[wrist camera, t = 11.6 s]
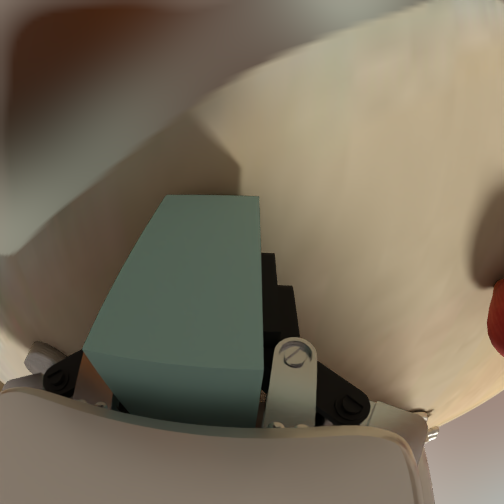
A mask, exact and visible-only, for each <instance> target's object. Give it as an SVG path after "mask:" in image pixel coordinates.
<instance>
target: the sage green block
mask: <svg viewBox="0 0 504 504" xmlns="http://www.w3.org/2000/svg"><path fill="white" fill-rule="evenodd" d="M82 350H83V352H84V353H85V355H86V356H87V358H88V359H89V361H90V362H91V364H92V365H93V366H94V368H95V369H96V371H97V372H98V374H99V375H100V376H101V378H102V379H103V380H104V382H105V383H106V384H107V386H108V387H109V388H110V390H111V391H112V392H113V394H114V395H115V396H116V397H117V399H118V400H119V401H120V402H121V404H122V405H123V406H124V407H125V408H126V410H127V411H128V412H129V413H130V414H132V415H137V416H142V417H147V418H153V419H158V420H165V421H171V422H179V423H187V424H196V425H206V426H218V427H235V428H255V426H256V420H257V413H258V406H259V400H260V393H261V386H262V379H263V371H264V358H263V313H262V274H261V239H260V207H259V196H233V195H166V196H165V198H164V199H163V201H162V202H161V204H160V205H159V207H158V208H157V210H156V212H155V213H154V215H153V216H152V218H151V220H150V221H149V223H148V224H147V226H146V228H145V229H144V231H143V233H142V234H141V236H140V238H139V239H138V241H137V243H136V244H135V246H134V248H133V249H132V251H131V253H130V255H129V256H128V258H127V260H126V262H125V264H124V265H123V267H122V269H121V271H120V273H119V274H118V276H117V278H116V280H115V282H114V284H113V286H112V288H111V290H110V291H109V293H108V295H107V297H106V299H105V301H104V303H103V305H102V307H101V309H100V311H99V313H98V315H97V318H96V320H95V322H94V324H93V326H92V328H91V330H90V332H89V335H88V337H87V339H86V341H85V344H84V346H83V348H82Z"/></svg>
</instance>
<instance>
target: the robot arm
mask: <svg viewBox="0 0 504 504" xmlns="http://www.w3.org/2000/svg"><path fill="white" fill-rule="evenodd" d="M261 274H262V313H263V358H264V371H263V379H262V386H261V389H262V390H263V391H264V392H265V393H266V400H265V407H264V413H263V419H262V426H261V428H235V427H218V426H206V425H196V424H187V423H179V422H171V421H165V420H158V419H153V418H147V417H142V416H137V415H132V414H130V413H129V412H128V411H127V410H126V408H125V407H124V406H123V405H122V404H121V402H120V401H119V400H118V399H117V397H116V396H115V395H114V394H113V392H112V391H111V390H110V388H109V387H108V386H107V384H106V383H105V382H104V380H103V379H102V378H101V376H100V375H99V374H98V372H97V371H96V369H95V368H94V366H93V365H92V364H91V362H90V361H89V359H88V358H87V356H86V355H85V353H84V352H83V350H80V351H78V352H76V353H74V354H72V355H71V356H69V357H67V358H65V359H63V360H61V361H59V362H58V363H56V364H54V365H52V366H51V367H49V368H48V369H47V371H46V372H45V374H42V372H40V373H36V374H32V375H29V376H25V377H21V378H16V379H12V380H10V381H8V382H7V383H6V384H5V385H4V387H3V389H2V392H0V504H435V502H434V495H433V488H432V483H431V478H430V472H429V467H428V463H427V457H426V452H425V448H424V444H425V443H427V442H428V441H430V440H432V439H435V438H436V437H437V433H438V432H439V427H438V426H435V427H432V428H430V429H428V426H427V423H426V422H427V420H428V417H427V414H426V413H425V412H414V413H412V412H409V411H406V410H403V409H400V408H397V407H394V406H391V405H388V404H385V403H382V402H380V401H377V402H376V403H375V402H372V401H370V400H369V399H368V397H367V395H365V394H364V393H363V392H362V391H361V390H359V389H358V388H356V387H355V386H353V385H352V384H350V383H349V382H347V381H346V380H344V379H343V378H342V377H340V376H339V375H337V374H336V373H334V372H333V371H331V370H330V369H329V368H327V367H326V366H324V365H323V364H321V363H320V362H319V361H317V352H316V349H315V348H314V346H313V345H312V344H311V343H310V342H309V341H307V340H305V339H303V338H300V335H299V327H298V320H297V313H296V305H295V298H294V291H293V287H292V286H283V285H277V275H276V264H275V254H274V253H261Z"/></svg>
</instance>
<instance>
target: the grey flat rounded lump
mask: <svg viewBox="0 0 504 504" xmlns="http://www.w3.org/2000/svg"><path fill="white" fill-rule="evenodd" d="M65 358H67V356H65V355H64V354H63V353H62V352H60V351H59V350H57V349H56V348H54V347H52V346H50V345H48V344H46V343H43V342H40V341H36V342H34V343H33V345H32V347H31V349H30V351H29V353H28V355H27V357H26V359H25V361H24V364H25V366H26V367H27V369H28V370H29V371H30V372H31V373H32V374H36V373H40V372H42V374H45V372H46V371H47V369H48V368H49V367H51V366H52V365H54V364H56V363H58V362H59V361H61V360H63V359H65Z"/></svg>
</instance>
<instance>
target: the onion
mask: <svg viewBox="0 0 504 504" xmlns="http://www.w3.org/2000/svg"><path fill="white" fill-rule="evenodd" d="M487 328H488V335H489V338H490V340H491V343H492V345H493V346H494V347H495V349H496V350H497V351H498V352H499V353H500V354H501V355H502V356H503V357H504V279H501V280H499V281H497V282H496V284H495V286H494V289H493V296H492V300H491V303H490V307H489V313H488V319H487Z"/></svg>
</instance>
